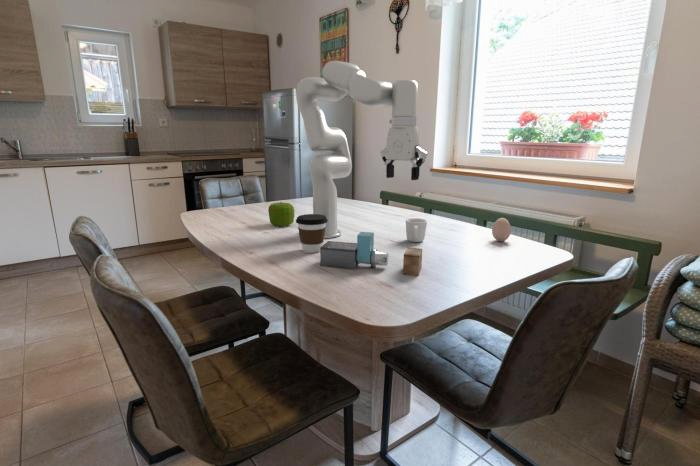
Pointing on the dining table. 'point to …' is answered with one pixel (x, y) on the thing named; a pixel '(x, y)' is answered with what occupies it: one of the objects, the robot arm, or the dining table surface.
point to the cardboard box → (412, 261)
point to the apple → (281, 214)
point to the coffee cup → (311, 231)
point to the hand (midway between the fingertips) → (402, 178)
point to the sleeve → (338, 255)
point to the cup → (415, 229)
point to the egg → (501, 229)
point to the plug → (369, 251)
